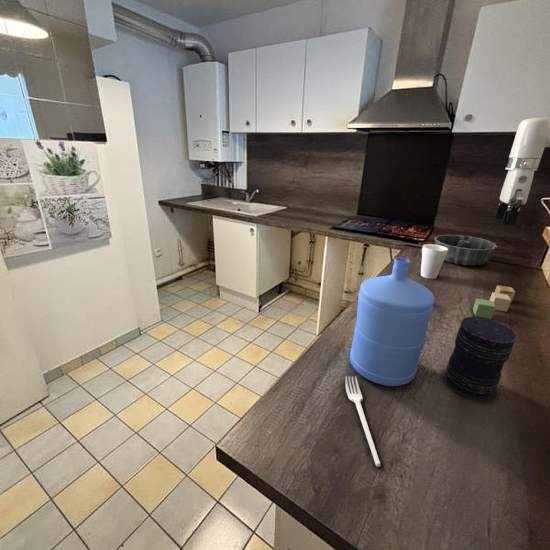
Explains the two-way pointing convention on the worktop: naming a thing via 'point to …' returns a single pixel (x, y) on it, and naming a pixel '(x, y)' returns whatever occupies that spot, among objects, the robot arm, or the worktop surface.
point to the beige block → (500, 301)
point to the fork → (361, 415)
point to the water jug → (391, 326)
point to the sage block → (483, 308)
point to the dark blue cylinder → (479, 357)
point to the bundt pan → (466, 249)
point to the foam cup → (432, 260)
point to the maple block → (505, 291)
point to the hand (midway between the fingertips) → (503, 221)
